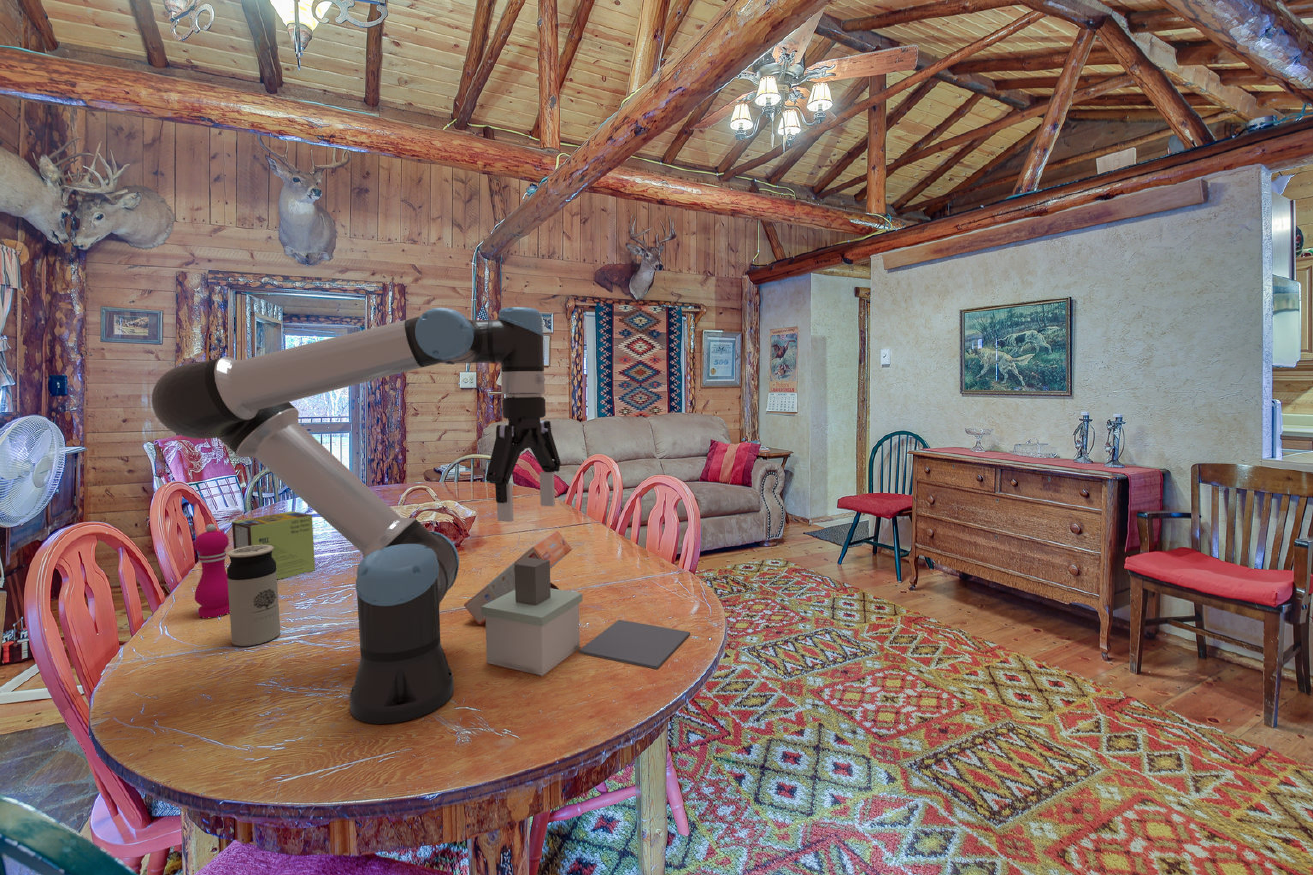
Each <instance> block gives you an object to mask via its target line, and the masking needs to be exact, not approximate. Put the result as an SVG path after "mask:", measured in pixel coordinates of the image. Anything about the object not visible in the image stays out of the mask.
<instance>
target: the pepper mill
mask: <svg viewBox="0 0 1313 875" xmlns="http://www.w3.org/2000/svg"><path fill="white" fill-rule="evenodd" d="M216 528H217V527H216V525H215V524H213V523H210V524H207V525H206V526H205V532H202V533H200V534H199V535H197V537H196V538H195V539H194V549H195V551H196V552H198V553H199V554H198V556H197V557H198V562H199V563H200V564H201V575H200V576H201V577H200V580H199V582H198V584H197V586H196V589H195V591H194V601H195V602H196V603H197V604H199V605H200V606H199V607H198V610H197V611H198V617H199V616H200V617H204V618H203V619H209V618H208V617H216V618H218V617H217V616H220V615H224V614H227V613H229V614H230V608H229V593H228V578H227V569H226V566H225V562H226V559H227V558H228V555H227V553H228V552H227V551H226V549H227V547H228V546H229V543H230V542H229V540H230V539H229V537H228V535H227V534H226V533H224V532H223V531H220V530H216ZM227 615H228V614H227ZM224 616H225V615H224ZM200 617H199V618H200ZM220 617H221V616H220Z"/></svg>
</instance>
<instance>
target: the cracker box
mask: <svg viewBox="0 0 1313 875" xmlns="http://www.w3.org/2000/svg"><path fill="white" fill-rule="evenodd" d="M572 550H573V549H572V547H571V545H570V543H568V542H567V540H566V539H565V538H564V537H563V536H562V535H561V533H560V532H559V531H558V530H554V532H552V533H550V534H549V535H547V536H546V537H545V538H543V539H542V540H540V541H538V542H537V543H536V544H534V545H532V546H531V547H529V549H528V550H527V551H526V552H524V553H523V554H522V555H520V556H519V557H518V558H517V559H516V560H515V561H514V562H512V563H511V564H510V565H508V566H507V567H506V568H505V569H504V570H502V572H500V573H499V574H498V575H497V576H496V577H494V578H493V579H492V580H491V581H490V582H489V583H487V584H486V585H485V586H484V587H483V588H481V589H480V590H479V591H477V593H475V595H473V596H472V597H471V598H469V599H468V600H467V601H466V602H465V603H464V604H463V606H464V607H465V609H466V610H467V611H468V613H469V614H470V615H471V616H472V618H473V619H474V620H475V622H476V623H477V624H478V625H479V626H481V625H483V624H484V623H486V617H485V615H481V606H483V605H485V604H487V603H489V602H491V601H493V600H495V599H497V598H499V597H501V596H503V595H505V594H507V593H509V592H511V591H513V590H515V564H516V563H518V562H521V561H523V560H525V559H528V558H536V559H544V560H550V570H551V569H553V567H555V566H556V565H557V564H558V563H559V562H560V561H561V560H562V559H563V558H564V557H566V556H567V555H568V554H569V553H570V552H571V551H572Z"/></svg>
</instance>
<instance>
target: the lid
mask: <svg viewBox="0 0 1313 875" xmlns="http://www.w3.org/2000/svg"><path fill="white" fill-rule="evenodd" d="M550 583H551V569H550V560H544V559H536V558H528V559H525V560H523V561H521V562H518V563H516V564H515V590H513V591H511V592H509V593H507V594H505V595H503V596H501V597H499V598H497V599H495V600H493V601H491V602H489V603H487V604H485V605H483V606H481V615H486V616H491V617H496V618H501V619H506V620H512V621H517V622H522V623H527V624H533V625H538V626H543V625H545V624H547V623H548V622H550V621H551V620H553V619H555V618H556V617H558V616H559V615H561V614H563V613H564V612H566V611H567V610H569V609H571V608H572V607H574V606H575V605H577V604H579V605H580V603H582V602H583V592H579V591H578V592H577V591H569V590H565V589H552V588H550Z"/></svg>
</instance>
